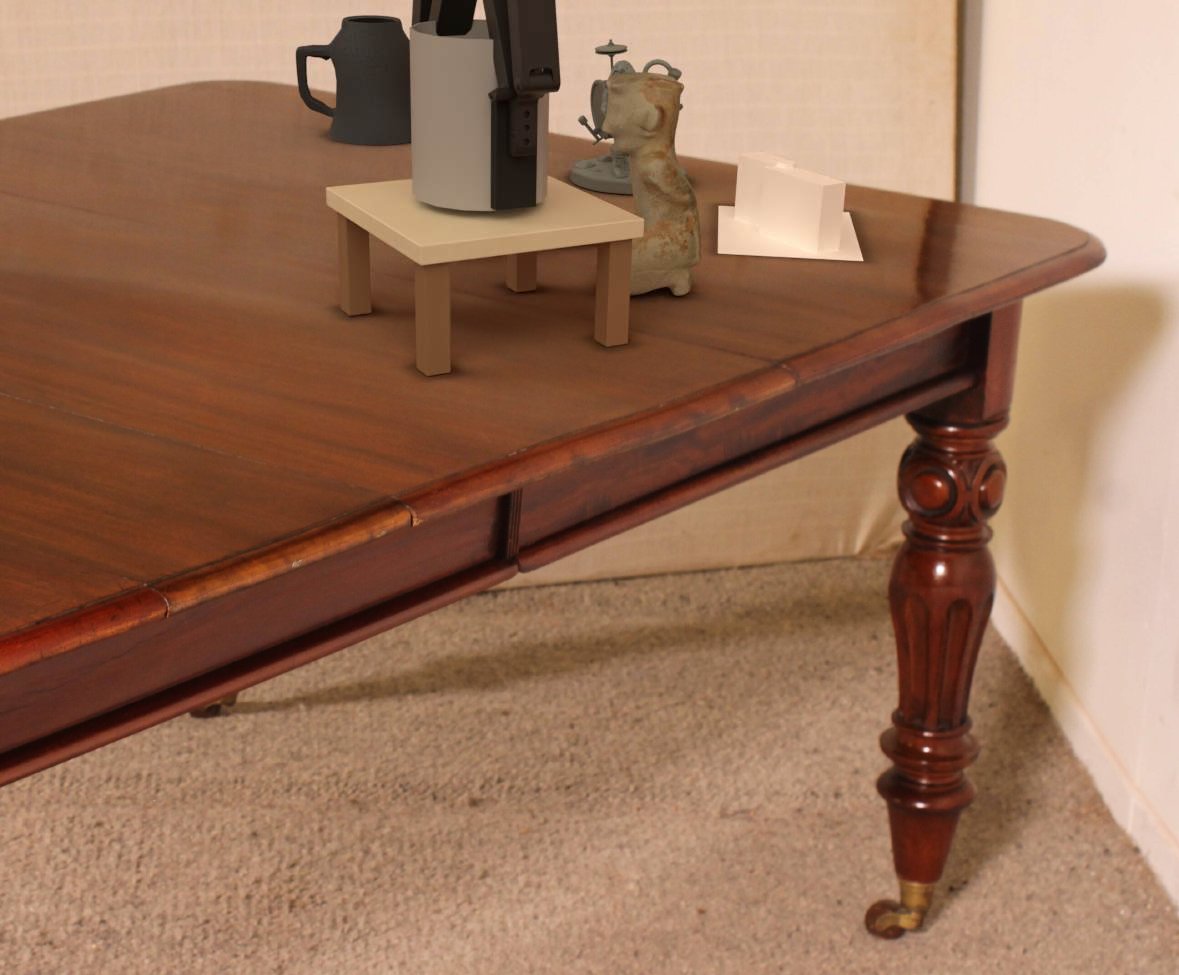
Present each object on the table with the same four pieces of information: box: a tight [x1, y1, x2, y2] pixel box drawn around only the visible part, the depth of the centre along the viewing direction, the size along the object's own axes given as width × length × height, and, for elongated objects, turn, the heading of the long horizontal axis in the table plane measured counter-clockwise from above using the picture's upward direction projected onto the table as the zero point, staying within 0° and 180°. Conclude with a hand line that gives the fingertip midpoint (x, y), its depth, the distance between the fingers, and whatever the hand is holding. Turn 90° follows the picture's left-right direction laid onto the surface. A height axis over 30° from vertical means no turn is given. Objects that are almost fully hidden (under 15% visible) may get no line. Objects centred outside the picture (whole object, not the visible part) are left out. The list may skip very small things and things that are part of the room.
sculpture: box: [595, 71, 702, 297], centre depth 102 cm, size 6×7×15 cm
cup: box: [409, 18, 550, 211], centre depth 92 cm, size 8×8×10 cm
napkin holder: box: [717, 151, 864, 262], centre depth 120 cm, size 15×11×6 cm
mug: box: [295, 14, 412, 146], centre depth 147 cm, size 12×9×11 cm
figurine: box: [569, 38, 688, 195], centre depth 133 cm, size 11×11×12 cm
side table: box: [325, 175, 644, 377], centre depth 96 cm, size 15×15×8 cm
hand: (481, 190), depth 94 cm, fingers closed on cup, 8 cm apart
